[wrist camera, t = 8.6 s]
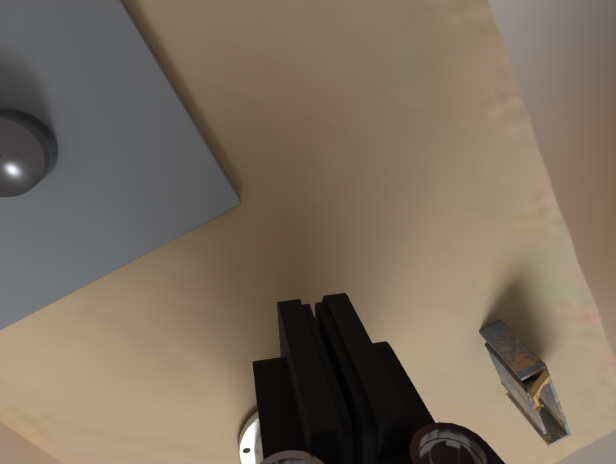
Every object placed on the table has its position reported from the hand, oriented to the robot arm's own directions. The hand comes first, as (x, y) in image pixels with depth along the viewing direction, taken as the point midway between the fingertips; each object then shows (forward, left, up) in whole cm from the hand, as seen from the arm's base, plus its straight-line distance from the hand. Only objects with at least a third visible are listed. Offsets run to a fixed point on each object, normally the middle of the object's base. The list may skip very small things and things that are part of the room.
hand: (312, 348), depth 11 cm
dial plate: (+7, +14, -26) cm, 30 cm away
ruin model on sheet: (-36, -13, -27) cm, 46 cm away
